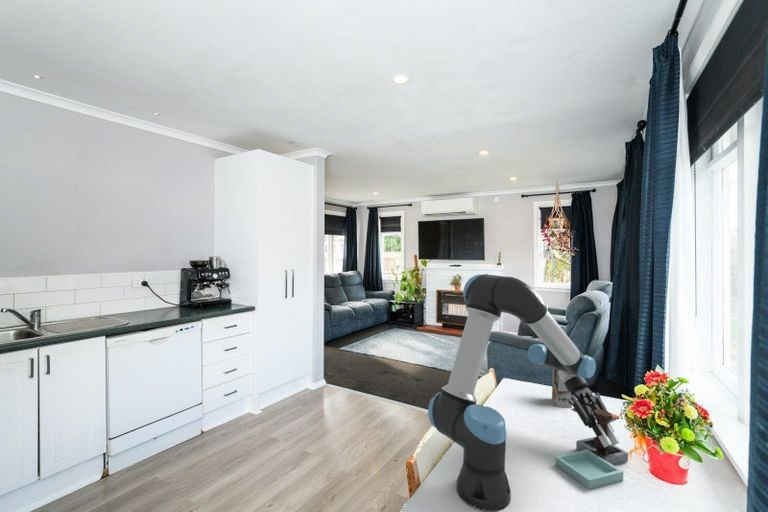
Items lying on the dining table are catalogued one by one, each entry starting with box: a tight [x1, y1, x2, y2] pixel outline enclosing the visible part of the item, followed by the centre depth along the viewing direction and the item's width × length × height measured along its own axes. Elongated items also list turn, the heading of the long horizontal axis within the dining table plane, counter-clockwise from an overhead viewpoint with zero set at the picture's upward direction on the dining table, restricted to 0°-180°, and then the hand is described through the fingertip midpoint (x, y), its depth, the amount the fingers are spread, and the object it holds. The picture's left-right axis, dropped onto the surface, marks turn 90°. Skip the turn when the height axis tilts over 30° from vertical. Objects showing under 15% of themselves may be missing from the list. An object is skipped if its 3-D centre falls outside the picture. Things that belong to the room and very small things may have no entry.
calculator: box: [571, 407, 620, 424], centre depth 159 cm, size 12×1×15 cm
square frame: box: [575, 436, 629, 466], centre depth 126 cm, size 10×11×3 cm
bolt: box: [593, 409, 612, 456], centre depth 126 cm, size 6×5×15 cm
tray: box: [554, 450, 624, 491], centre depth 116 cm, size 14×13×3 cm
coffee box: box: [551, 368, 573, 409], centre depth 169 cm, size 9×6×16 cm
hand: (612, 444), depth 122 cm, fingers closed on bolt, 3 cm apart
